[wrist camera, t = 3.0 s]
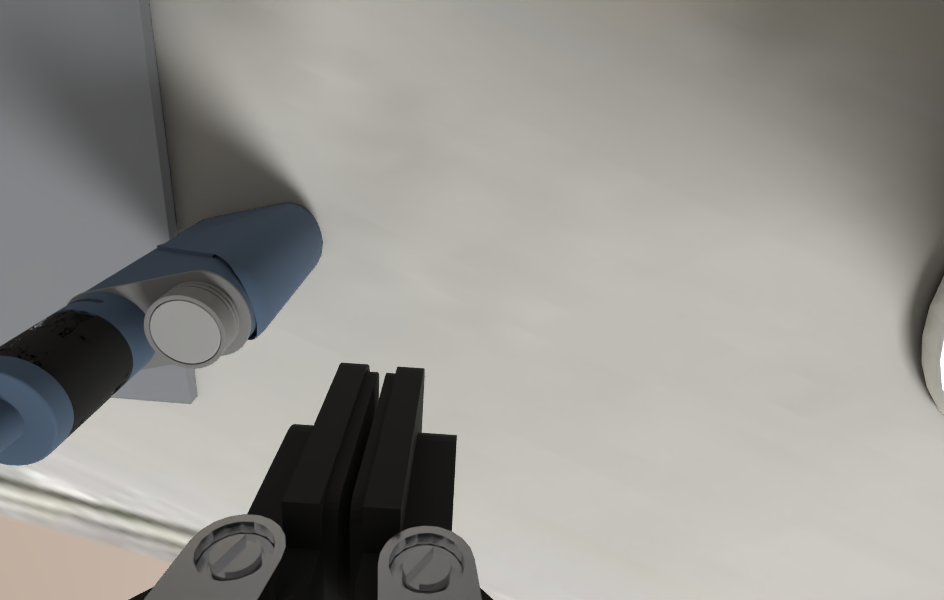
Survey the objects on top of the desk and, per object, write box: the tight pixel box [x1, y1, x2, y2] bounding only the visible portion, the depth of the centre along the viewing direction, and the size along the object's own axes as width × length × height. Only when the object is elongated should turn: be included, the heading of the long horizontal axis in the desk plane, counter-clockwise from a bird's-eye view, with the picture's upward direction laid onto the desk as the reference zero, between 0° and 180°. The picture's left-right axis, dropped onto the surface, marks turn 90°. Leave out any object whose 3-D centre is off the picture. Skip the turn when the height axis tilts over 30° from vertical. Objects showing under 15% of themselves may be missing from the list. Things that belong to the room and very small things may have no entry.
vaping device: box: [0, 203, 323, 465], centre depth 17 cm, size 3×5×12 cm, turn 102°
